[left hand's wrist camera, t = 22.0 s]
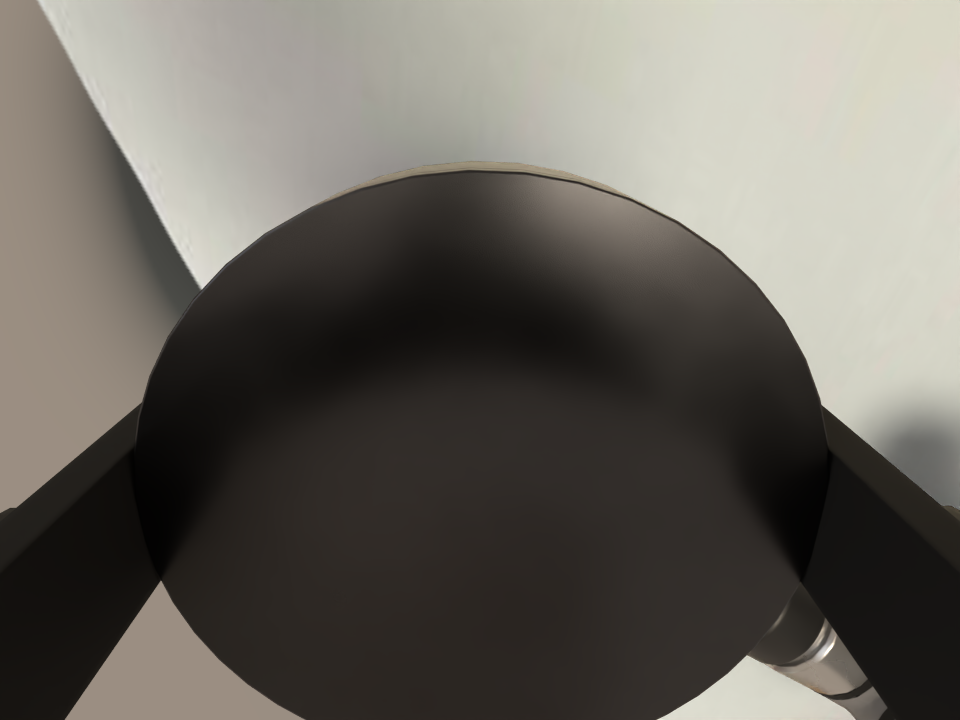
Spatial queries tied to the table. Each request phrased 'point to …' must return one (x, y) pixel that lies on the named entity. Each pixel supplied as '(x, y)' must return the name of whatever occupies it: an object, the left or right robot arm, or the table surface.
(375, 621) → the lid
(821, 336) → the table surface
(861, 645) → the left robot arm
